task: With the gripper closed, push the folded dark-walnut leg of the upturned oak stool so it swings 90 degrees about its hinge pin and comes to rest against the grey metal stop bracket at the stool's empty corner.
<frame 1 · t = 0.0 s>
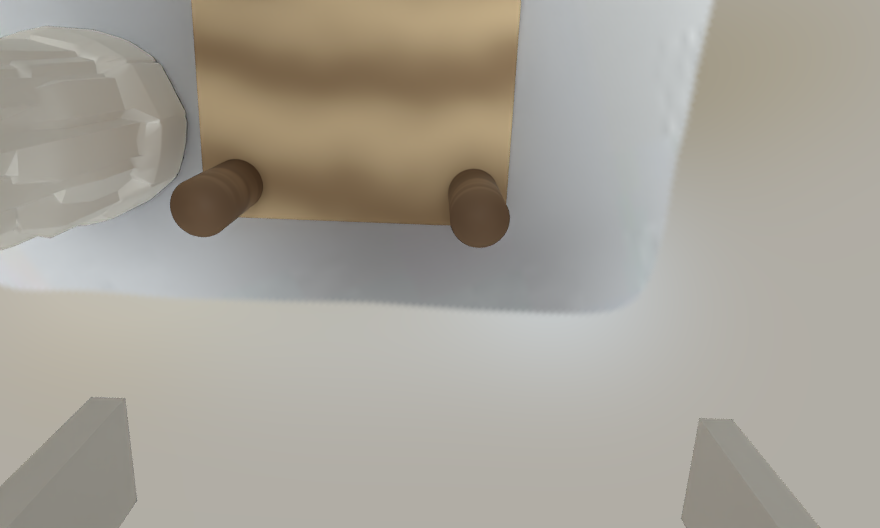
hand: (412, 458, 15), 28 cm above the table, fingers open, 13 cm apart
decorative vase: (101, 122, 40), on the table
stool seat: (361, 65, 39), on the table
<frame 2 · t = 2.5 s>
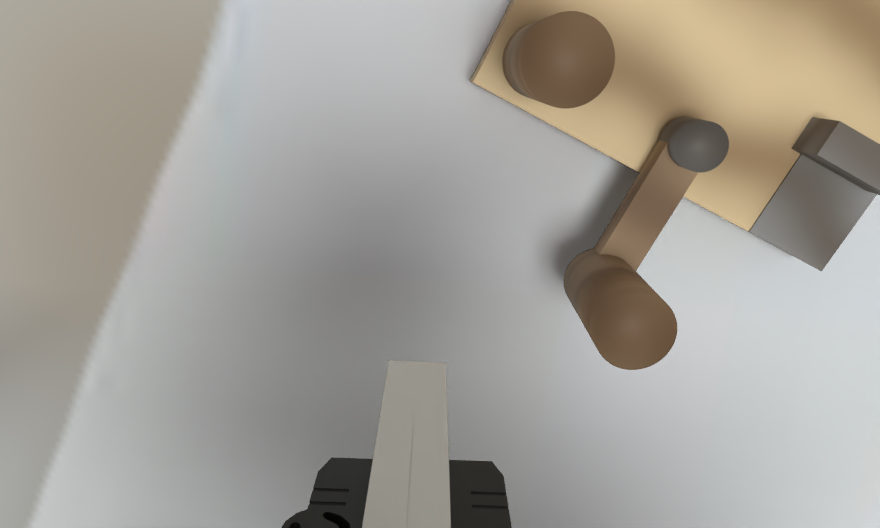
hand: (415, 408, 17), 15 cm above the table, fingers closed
hinged leg: (657, 234, 26), point 6 cm above the table, hinge at 0.0°
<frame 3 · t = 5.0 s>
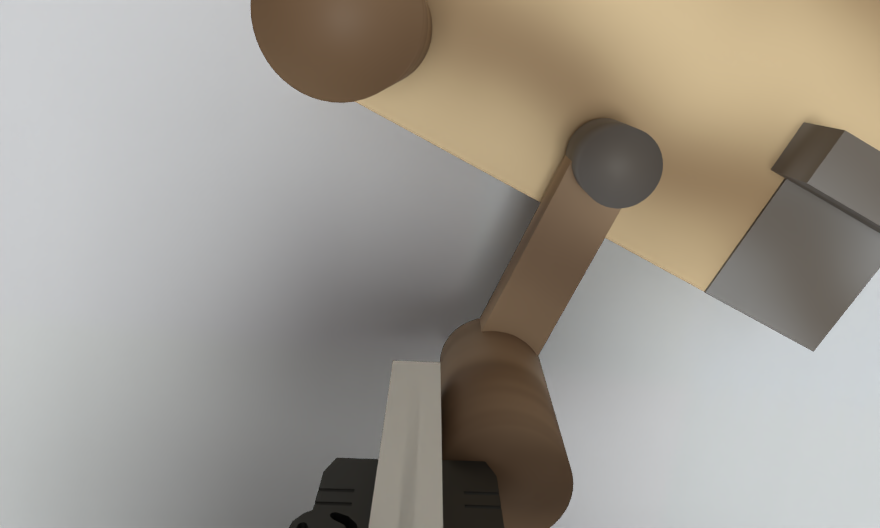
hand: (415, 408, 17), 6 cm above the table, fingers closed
hinged leg: (553, 310, 16), point 6 cm above the table, hinge at 3.4°, touching gripper
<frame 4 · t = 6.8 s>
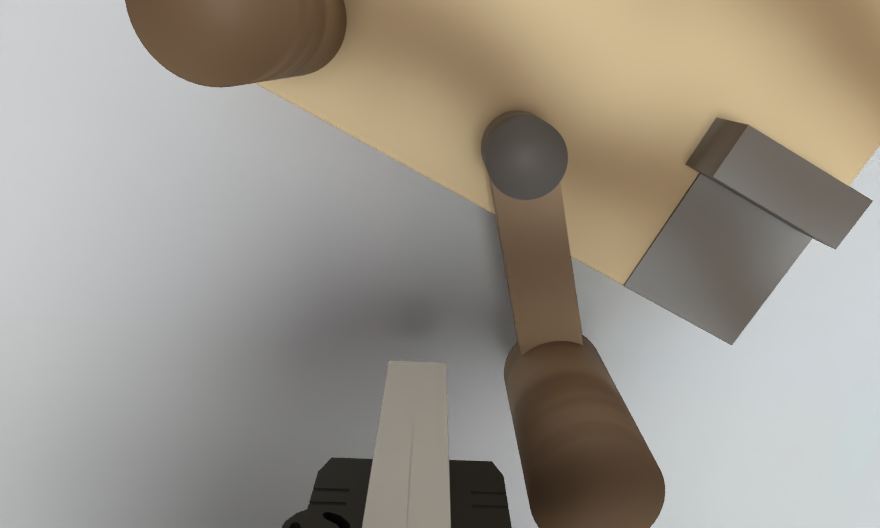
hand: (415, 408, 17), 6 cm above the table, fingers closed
hinged leg: (554, 312, 16), point 6 cm above the table, hinge at 40.1°
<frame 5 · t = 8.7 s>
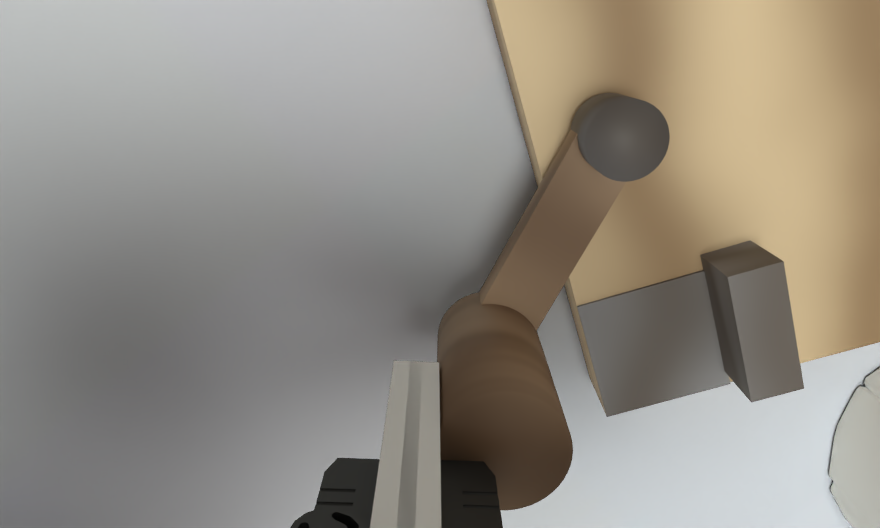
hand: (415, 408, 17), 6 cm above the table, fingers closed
stool seat: (808, 48, 20), on the table
hinged leg: (556, 281, 16), point 6 cm above the table, hinge at 45.7°, touching gripper
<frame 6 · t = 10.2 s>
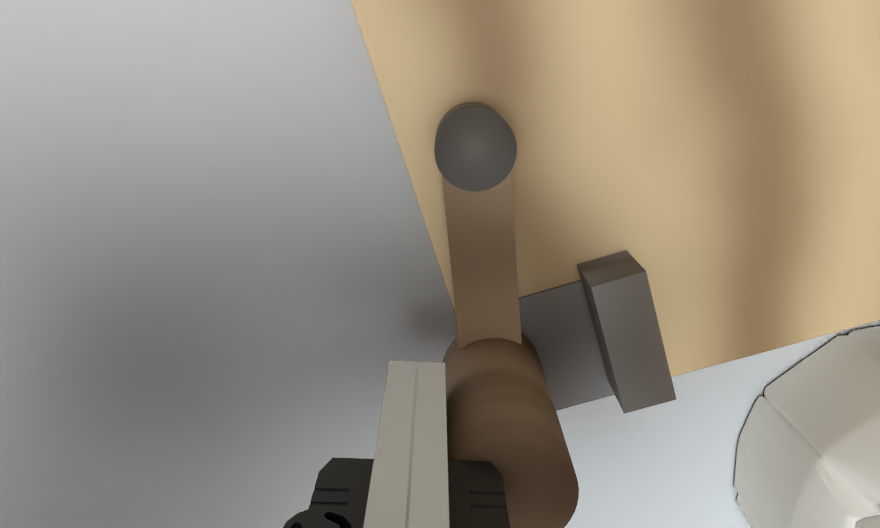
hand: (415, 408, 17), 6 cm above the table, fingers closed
decorative vase: (875, 452, 24), on the table
stool seat: (687, 57, 20), on the table
hinged leg: (489, 306, 16), point 6 cm above the table, hinge at 78.0°, touching gripper
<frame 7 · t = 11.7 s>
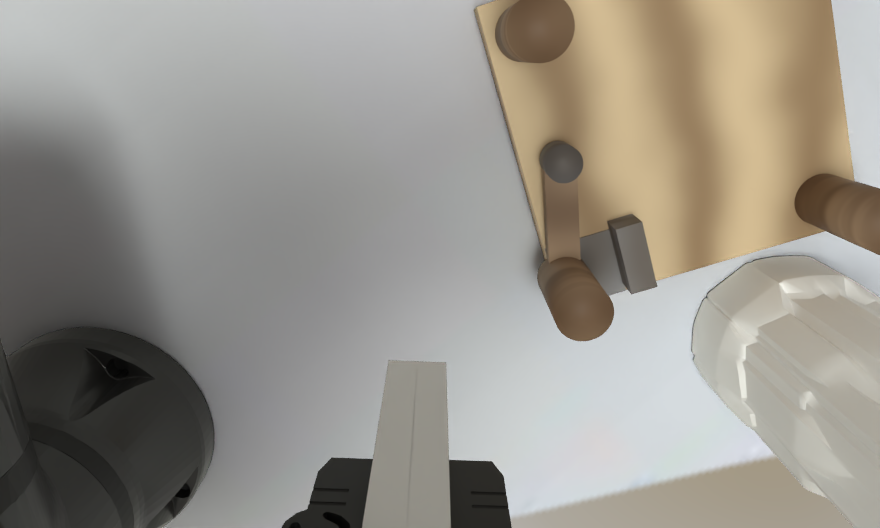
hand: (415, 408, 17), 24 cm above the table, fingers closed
decorative vase: (770, 331, 43), on the table
stool seat: (662, 115, 39), on the table
hinged leg: (570, 236, 35), point 6 cm above the table, hinge at 78.1°
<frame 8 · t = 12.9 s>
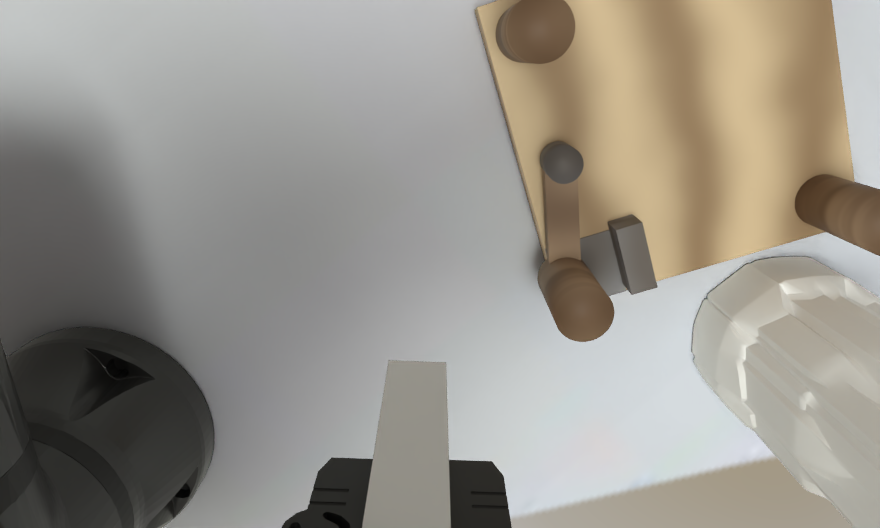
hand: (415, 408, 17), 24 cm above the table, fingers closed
decorative vase: (770, 332, 43), on the table
stool seat: (663, 116, 39), on the table
hinged leg: (570, 237, 35), point 6 cm above the table, hinge at 78.1°
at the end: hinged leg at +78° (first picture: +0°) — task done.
